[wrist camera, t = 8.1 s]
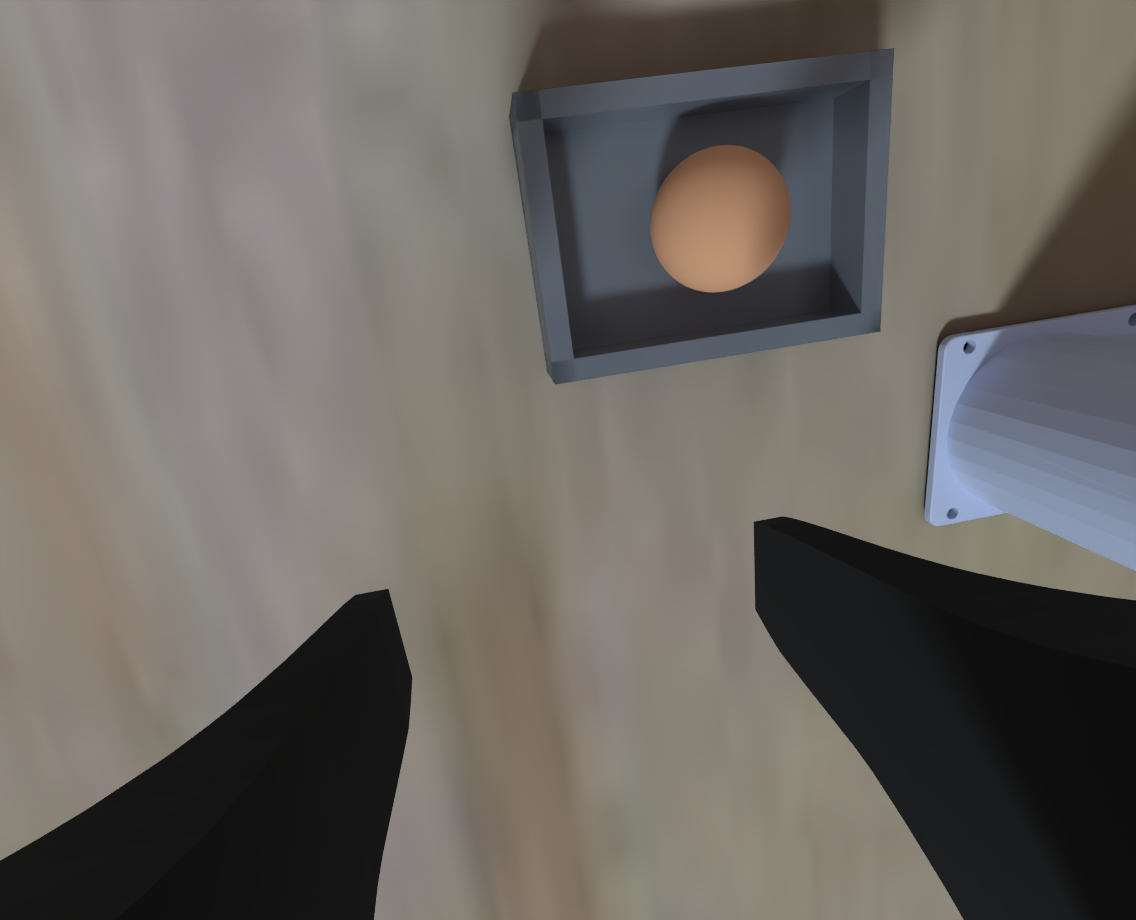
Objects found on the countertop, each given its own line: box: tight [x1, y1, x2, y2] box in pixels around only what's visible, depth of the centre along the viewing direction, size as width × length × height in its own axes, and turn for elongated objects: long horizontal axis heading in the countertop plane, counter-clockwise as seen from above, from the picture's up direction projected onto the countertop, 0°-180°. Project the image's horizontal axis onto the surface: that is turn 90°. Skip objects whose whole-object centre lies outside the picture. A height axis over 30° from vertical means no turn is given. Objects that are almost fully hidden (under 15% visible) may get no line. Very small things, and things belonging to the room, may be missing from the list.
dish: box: [509, 48, 894, 384], centre depth 18 cm, size 11×8×2 cm
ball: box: [650, 145, 791, 292], centre depth 17 cm, size 4×4×4 cm
